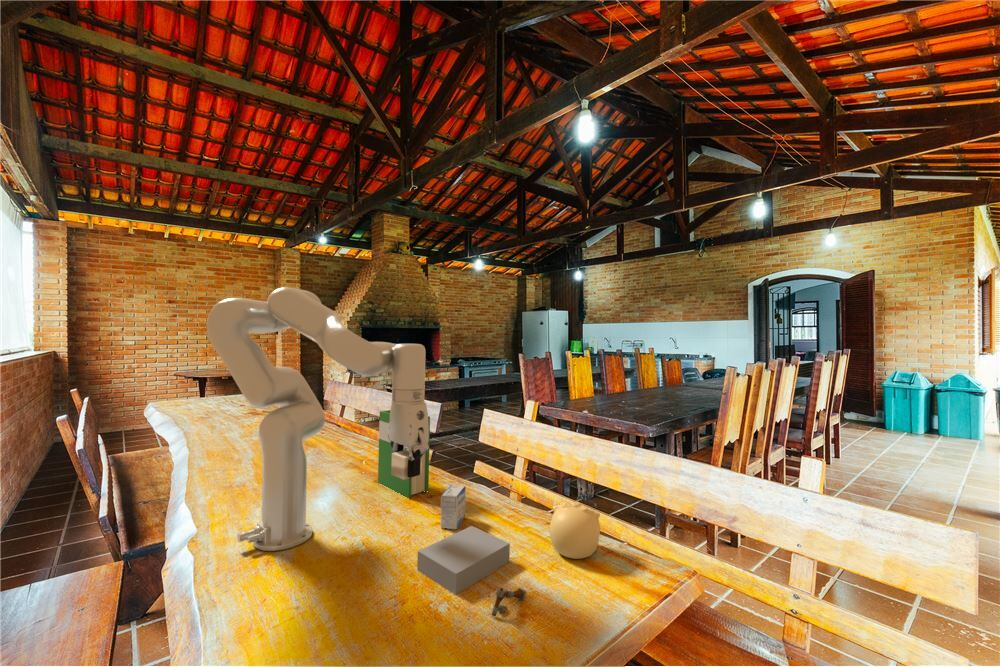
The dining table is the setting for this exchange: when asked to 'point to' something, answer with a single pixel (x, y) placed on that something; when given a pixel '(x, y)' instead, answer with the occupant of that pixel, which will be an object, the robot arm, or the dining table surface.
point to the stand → (463, 558)
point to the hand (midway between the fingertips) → (406, 472)
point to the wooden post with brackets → (509, 594)
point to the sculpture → (574, 530)
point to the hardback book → (385, 462)
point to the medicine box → (453, 507)
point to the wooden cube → (401, 464)
